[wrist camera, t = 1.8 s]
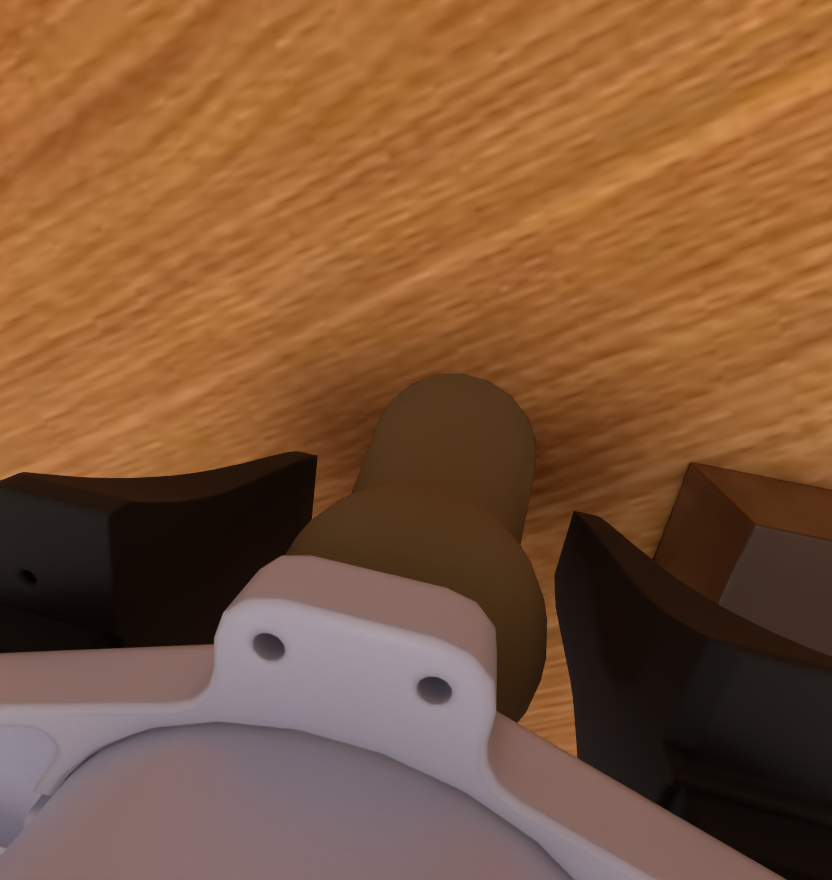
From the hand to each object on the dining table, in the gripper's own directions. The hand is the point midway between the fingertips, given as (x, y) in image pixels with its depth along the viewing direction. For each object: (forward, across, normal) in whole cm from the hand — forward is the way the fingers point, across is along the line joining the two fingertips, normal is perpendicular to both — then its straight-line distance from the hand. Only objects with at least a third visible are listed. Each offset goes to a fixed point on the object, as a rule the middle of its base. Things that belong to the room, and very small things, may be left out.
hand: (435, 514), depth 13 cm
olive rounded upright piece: (+5, 0, 0) cm, 5 cm away
